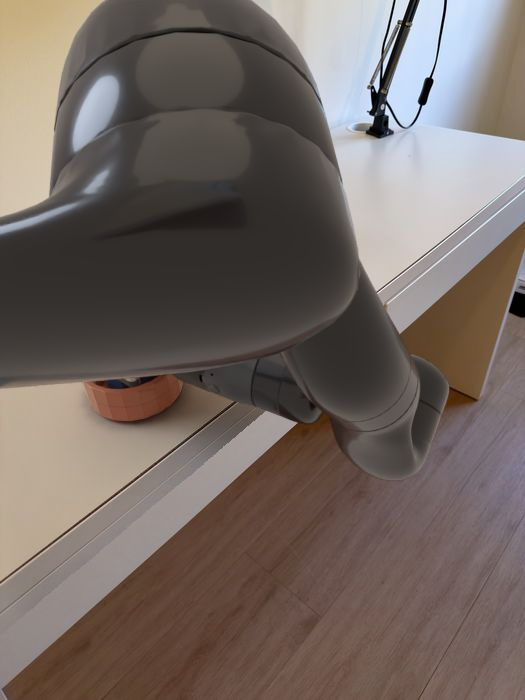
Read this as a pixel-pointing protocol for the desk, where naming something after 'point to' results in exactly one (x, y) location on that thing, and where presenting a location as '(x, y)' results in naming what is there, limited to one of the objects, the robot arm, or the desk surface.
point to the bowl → (133, 398)
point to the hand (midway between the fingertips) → (102, 313)
